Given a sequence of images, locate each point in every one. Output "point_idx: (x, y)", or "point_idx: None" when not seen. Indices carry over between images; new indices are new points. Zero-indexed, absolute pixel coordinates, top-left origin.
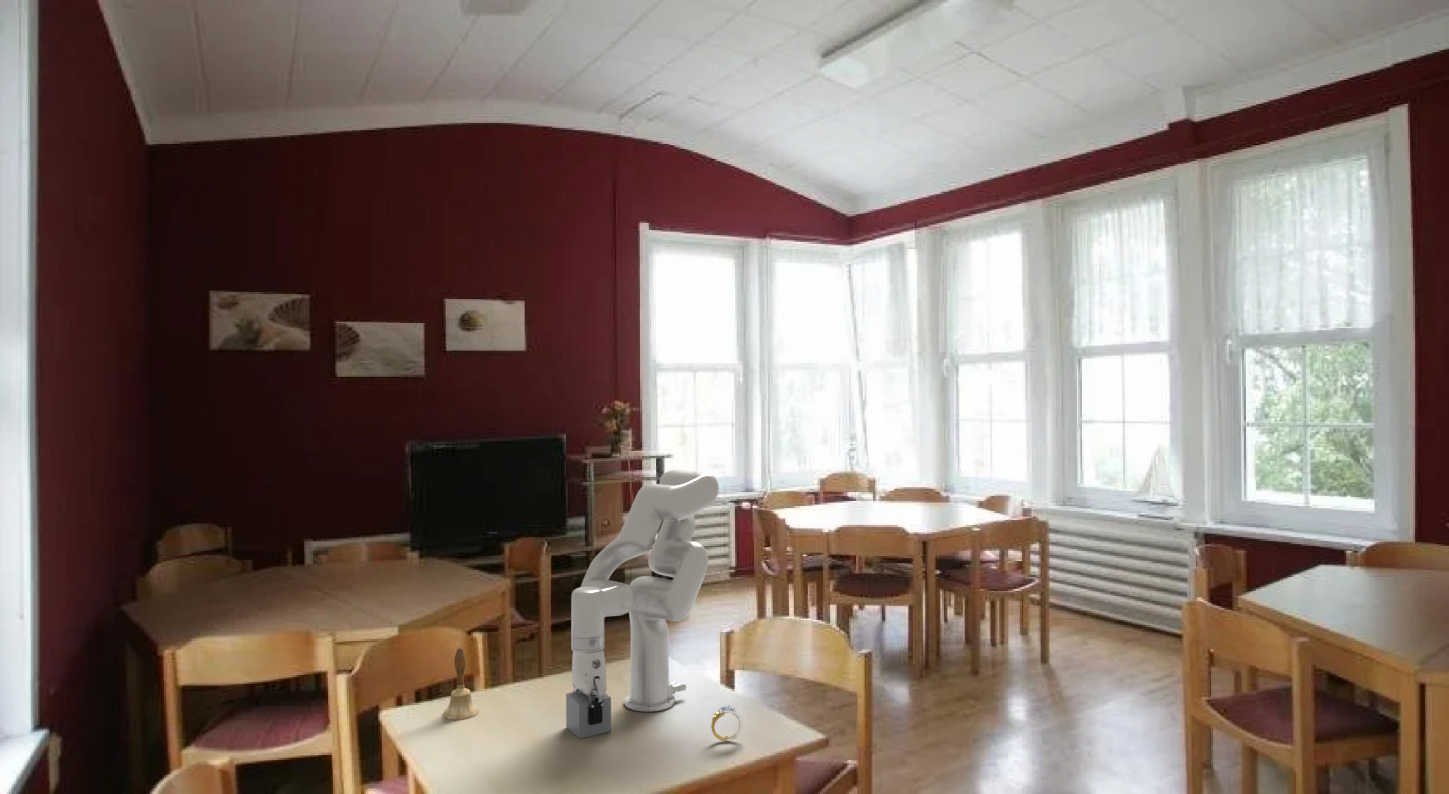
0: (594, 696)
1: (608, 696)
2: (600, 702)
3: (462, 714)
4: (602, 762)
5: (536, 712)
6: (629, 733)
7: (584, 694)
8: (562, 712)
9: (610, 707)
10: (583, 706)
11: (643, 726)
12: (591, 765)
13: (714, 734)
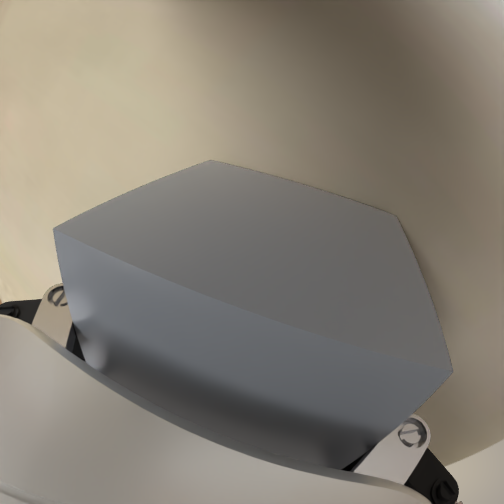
0: (263, 423)
1: (404, 370)
2: (428, 474)
3: None
4: (499, 396)
5: (57, 266)
6: (481, 168)
7: (163, 408)
8: (74, 214)
9: (428, 300)
10: None
11: (462, 48)
12: (478, 417)
13: None
